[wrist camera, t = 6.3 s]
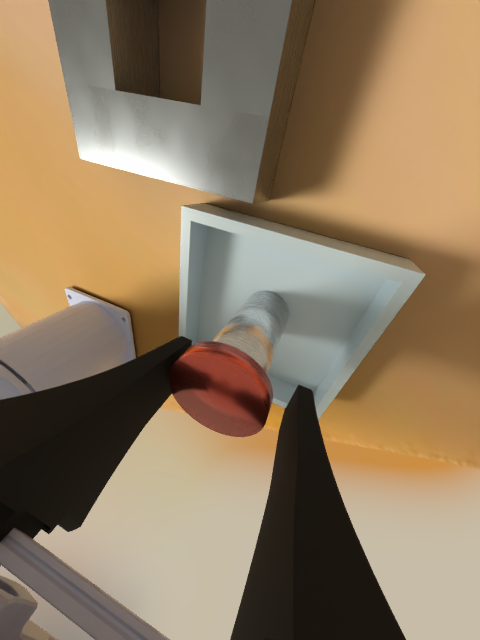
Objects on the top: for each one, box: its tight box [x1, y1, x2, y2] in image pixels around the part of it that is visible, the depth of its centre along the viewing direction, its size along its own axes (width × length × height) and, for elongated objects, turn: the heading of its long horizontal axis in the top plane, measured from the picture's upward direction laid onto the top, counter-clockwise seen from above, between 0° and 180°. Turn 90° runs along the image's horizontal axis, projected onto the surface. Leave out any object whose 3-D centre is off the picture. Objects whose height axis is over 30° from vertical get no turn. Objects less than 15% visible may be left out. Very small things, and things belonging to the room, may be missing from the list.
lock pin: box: [168, 291, 289, 437], centre depth 12 cm, size 4×4×8 cm
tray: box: [179, 203, 426, 419], centre depth 15 cm, size 12×12×2 cm
